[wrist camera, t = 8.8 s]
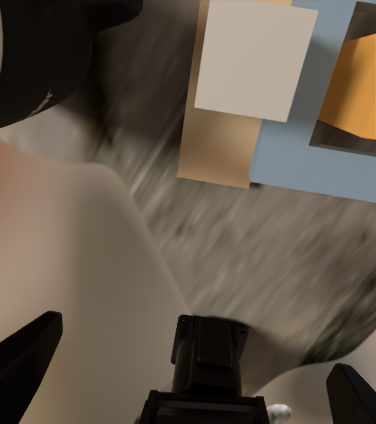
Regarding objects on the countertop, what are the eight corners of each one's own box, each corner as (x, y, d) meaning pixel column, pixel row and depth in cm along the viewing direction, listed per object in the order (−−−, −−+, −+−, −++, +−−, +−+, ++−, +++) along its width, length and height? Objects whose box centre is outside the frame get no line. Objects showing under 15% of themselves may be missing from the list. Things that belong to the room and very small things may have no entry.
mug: (5, 121, 20) (-175, 160, 11) (-59, -43, 16) (-423, -201, 7) (173, 98, 18) (133, 120, 9) (147, -90, 14) (31, -379, 5)
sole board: (247, 183, 20) (248, 188, 19) (178, 172, 20) (176, 176, 19) (313, -80, 14) (320, -90, 13) (214, -95, 14) (214, -106, 13)
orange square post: (358, 122, 18) (456, 152, 11) (302, 113, 18) (361, 137, 11) (383, 57, 16) (519, 42, 9) (321, 48, 16) (407, 25, 9)
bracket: (394, 183, 18) (513, 253, 11) (193, 150, 18) (180, 197, 11) (490, -6, 14) (787, -96, 7) (225, -48, 14) (236, -179, 7)
